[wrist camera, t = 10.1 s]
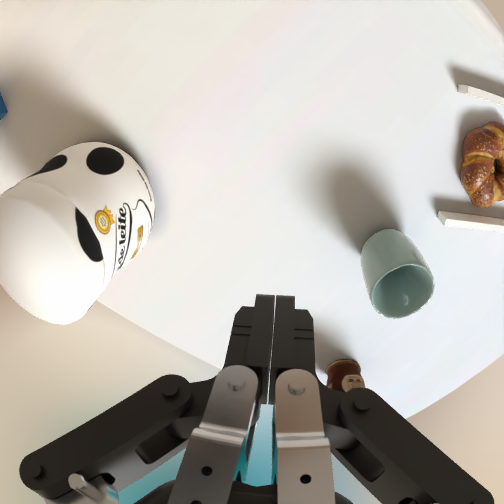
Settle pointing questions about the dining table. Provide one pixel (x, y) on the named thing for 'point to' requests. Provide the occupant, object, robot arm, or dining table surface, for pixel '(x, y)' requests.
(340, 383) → the coffee cup
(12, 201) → the milk container
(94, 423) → the robot arm
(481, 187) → the pretzel
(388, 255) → the cup
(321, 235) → the dining table surface
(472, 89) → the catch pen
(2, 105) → the perfume bottle
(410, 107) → the dining table surface
